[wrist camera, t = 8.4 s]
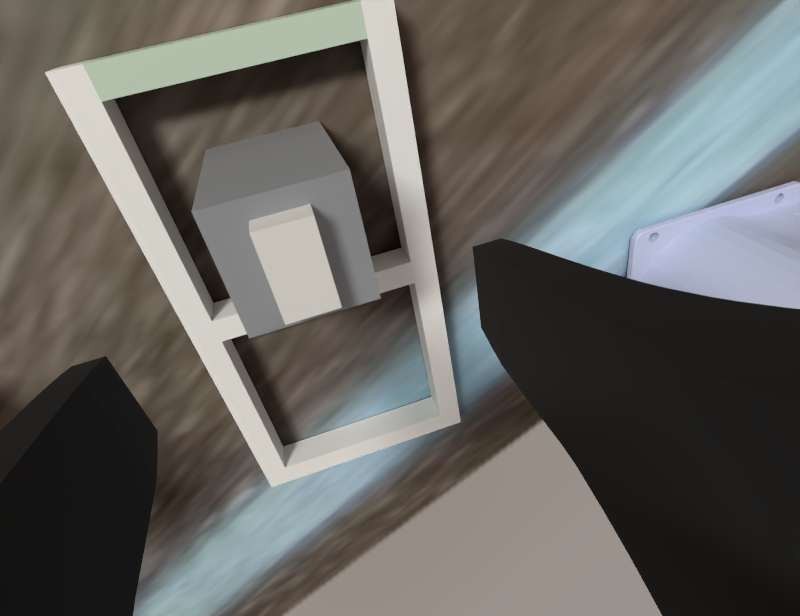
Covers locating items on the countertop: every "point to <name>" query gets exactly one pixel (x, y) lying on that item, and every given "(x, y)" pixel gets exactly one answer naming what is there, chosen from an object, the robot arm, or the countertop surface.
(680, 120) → the countertop surface
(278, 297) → the plug
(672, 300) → the robot arm
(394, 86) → the frame
